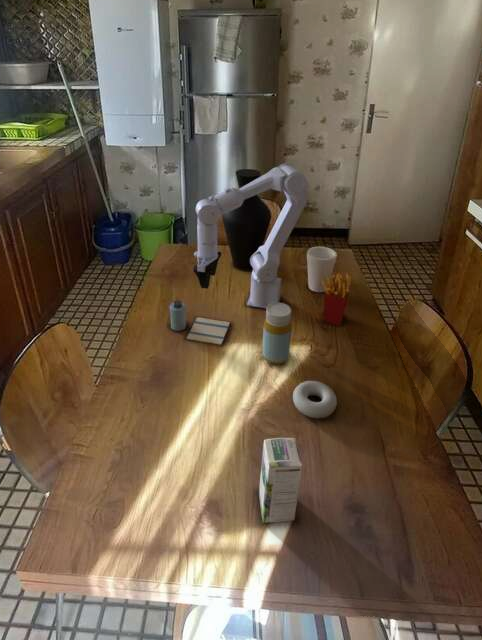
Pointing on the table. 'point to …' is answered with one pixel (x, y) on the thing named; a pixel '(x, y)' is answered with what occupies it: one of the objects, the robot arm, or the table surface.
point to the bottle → (276, 333)
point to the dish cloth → (208, 330)
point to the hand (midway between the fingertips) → (208, 281)
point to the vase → (246, 223)
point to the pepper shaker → (178, 315)
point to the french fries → (335, 298)
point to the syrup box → (279, 479)
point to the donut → (314, 408)
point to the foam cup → (319, 267)
